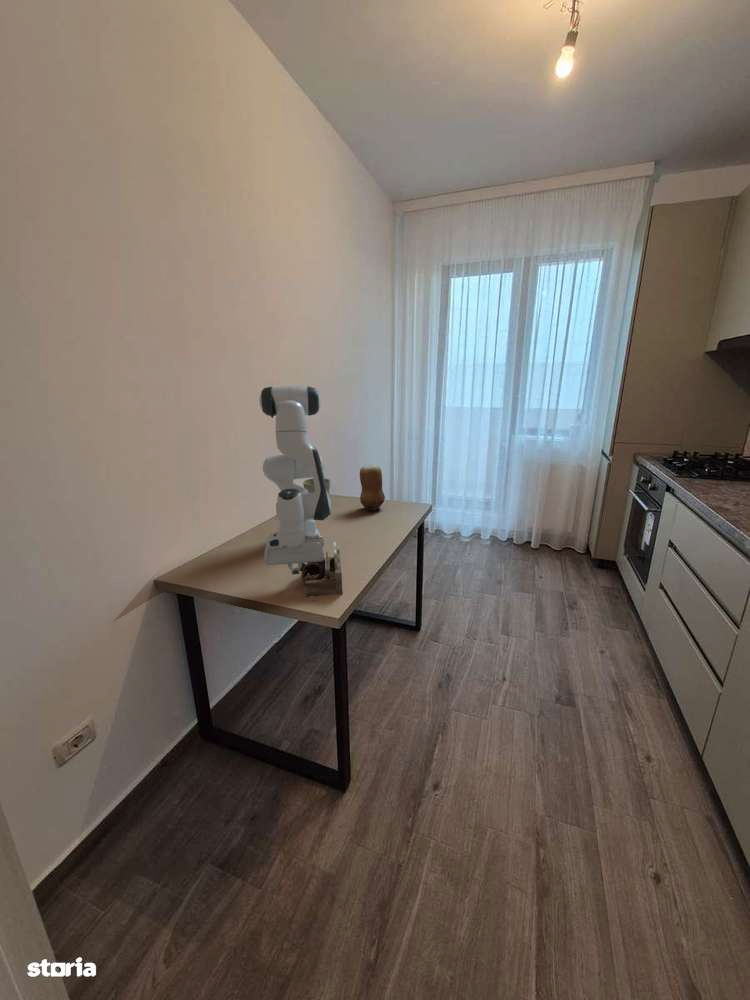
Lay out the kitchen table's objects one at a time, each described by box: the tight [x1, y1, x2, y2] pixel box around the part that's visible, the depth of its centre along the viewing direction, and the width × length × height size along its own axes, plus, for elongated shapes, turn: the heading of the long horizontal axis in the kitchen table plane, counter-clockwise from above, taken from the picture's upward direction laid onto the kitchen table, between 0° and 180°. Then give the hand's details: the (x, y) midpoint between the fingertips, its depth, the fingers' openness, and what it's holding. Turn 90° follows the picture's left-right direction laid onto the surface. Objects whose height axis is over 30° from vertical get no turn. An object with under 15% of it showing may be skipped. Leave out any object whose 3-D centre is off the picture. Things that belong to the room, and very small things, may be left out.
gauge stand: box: [304, 540, 344, 598], centre depth 140 cm, size 19×12×13 cm, turn 7°
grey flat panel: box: [324, 551, 331, 579], centre depth 141 cm, size 10×2×11 cm, turn 7°
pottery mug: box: [300, 562, 326, 588], centre depth 142 cm, size 12×10×8 cm
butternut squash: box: [359, 464, 386, 511], centre depth 216 cm, size 14×13×25 cm
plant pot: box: [302, 477, 331, 496], centre depth 221 cm, size 15×15×16 cm
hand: (296, 573), depth 140 cm, fingers closed
